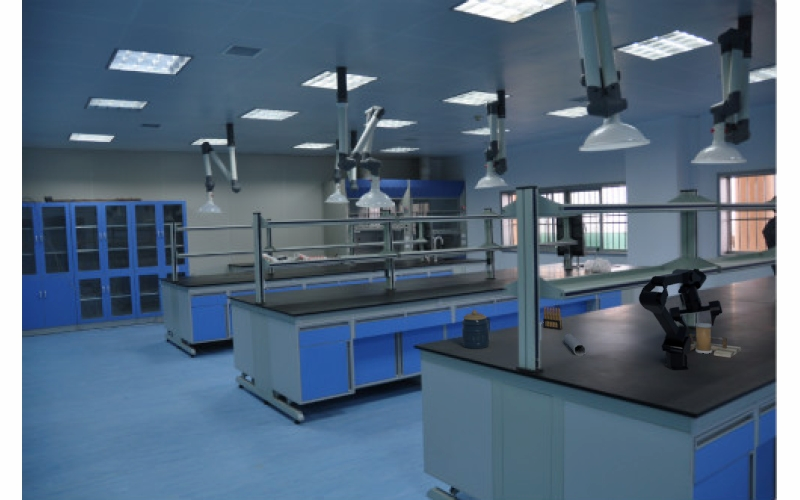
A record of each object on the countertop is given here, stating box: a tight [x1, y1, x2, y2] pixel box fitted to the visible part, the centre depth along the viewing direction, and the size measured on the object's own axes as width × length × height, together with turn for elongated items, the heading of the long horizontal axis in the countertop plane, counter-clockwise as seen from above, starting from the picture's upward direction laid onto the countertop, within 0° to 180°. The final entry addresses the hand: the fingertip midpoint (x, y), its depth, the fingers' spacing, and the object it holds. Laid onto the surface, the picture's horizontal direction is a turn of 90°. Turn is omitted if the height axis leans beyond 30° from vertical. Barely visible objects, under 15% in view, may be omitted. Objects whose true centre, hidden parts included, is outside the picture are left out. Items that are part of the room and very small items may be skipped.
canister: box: [461, 309, 490, 350], centre depth 259 cm, size 13×13×18 cm
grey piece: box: [675, 333, 742, 358], centre depth 230 cm, size 14×22×6 cm, turn 42°
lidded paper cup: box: [695, 322, 713, 355], centre depth 228 cm, size 6×6×12 cm
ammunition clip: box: [542, 305, 563, 331], centre depth 289 cm, size 11×2×12 cm, turn 41°
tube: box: [563, 333, 587, 356], centre depth 245 cm, size 5×5×25 cm
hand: (700, 327), depth 219 cm, fingers open, 9 cm apart
